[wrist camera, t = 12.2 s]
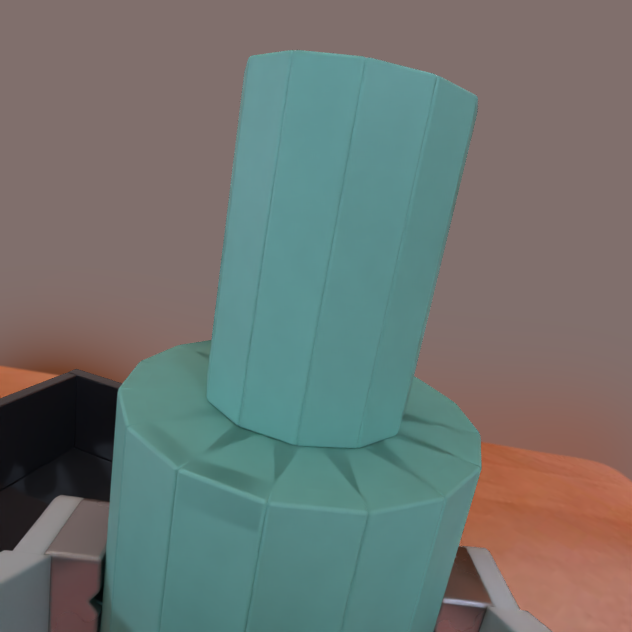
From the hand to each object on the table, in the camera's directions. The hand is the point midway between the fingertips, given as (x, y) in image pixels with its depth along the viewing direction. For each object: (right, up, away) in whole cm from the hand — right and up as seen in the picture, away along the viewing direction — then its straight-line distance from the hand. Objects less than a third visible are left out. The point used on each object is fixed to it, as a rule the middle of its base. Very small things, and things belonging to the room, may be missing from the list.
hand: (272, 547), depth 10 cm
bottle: (-2, -11, +2) cm, 11 cm away
